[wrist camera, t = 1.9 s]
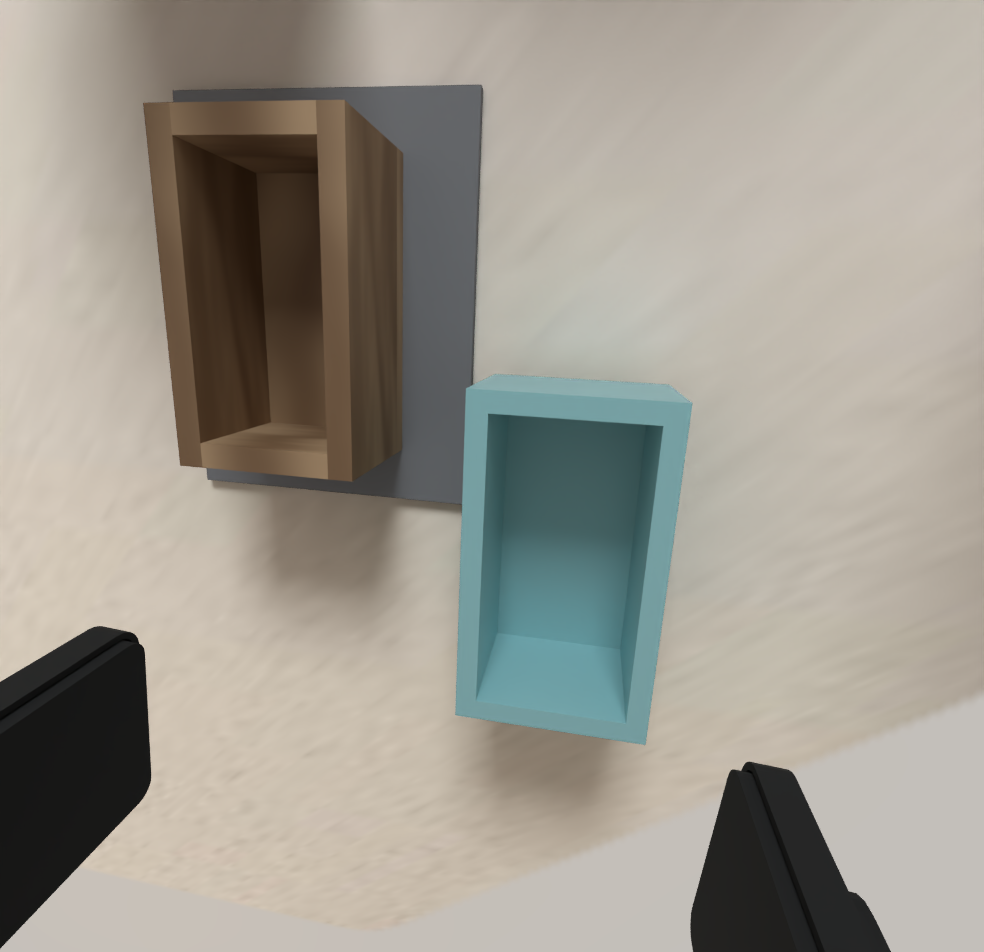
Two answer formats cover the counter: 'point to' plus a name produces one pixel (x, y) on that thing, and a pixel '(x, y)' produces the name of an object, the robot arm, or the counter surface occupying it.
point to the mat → (415, 279)
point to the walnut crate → (280, 284)
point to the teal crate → (566, 550)
